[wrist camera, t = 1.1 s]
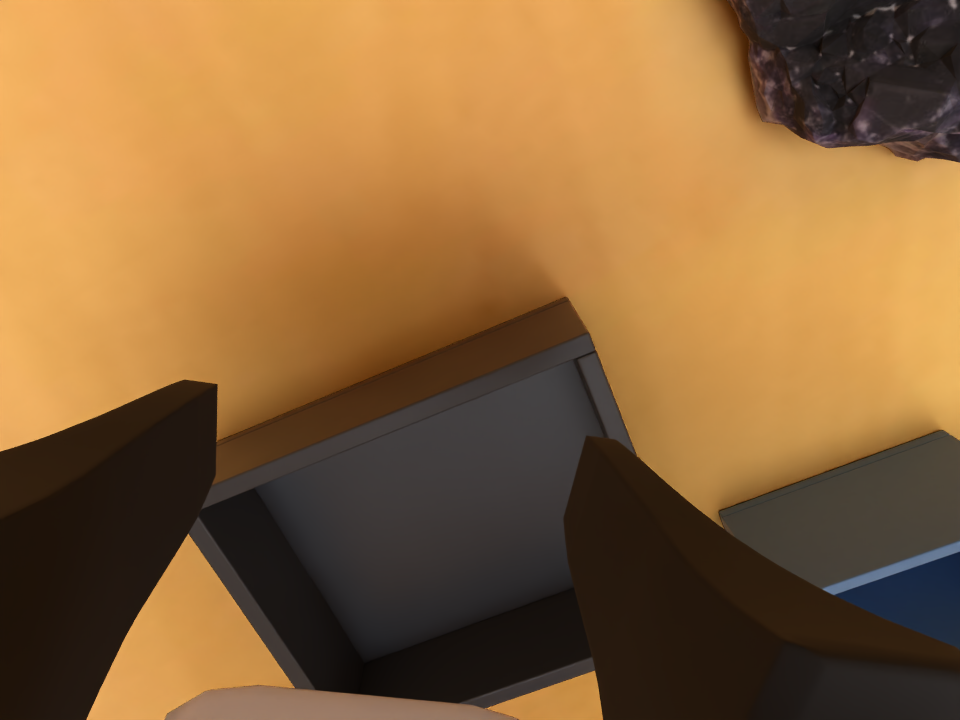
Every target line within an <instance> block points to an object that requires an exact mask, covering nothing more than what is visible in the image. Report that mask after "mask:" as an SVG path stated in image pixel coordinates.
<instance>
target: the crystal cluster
mask: <svg viewBox="0 0 960 720" xmlns="http://www.w3.org/2000/svg"><path fill="white" fill-rule="evenodd" d="M727 1H728V3H729V4H730V5H731V7H732V8H733V9H734V11H735V12H736V14H737V17H738V21H739V25H740V28H741V29H742V31H743V32H744V33H745V35H746V36H747V37H748V40H749V50H748V61H749V66H750V72H751V78H752V85H753V91H754V96H755V101H756V106H757V109H758V112H759V114H760V117H761V119H762V121H763V122H769V123H775V124H781V125H785V126H786V127H787V128H788V129H789V130H791V131H792V132H794V133H795V134H797V135H798V136H800V137H801V138H803V139H806V140H808V141H811V142H813V143H816V144H818V145H821V146H823V147H825V148H836V147H849V146H871V145H877V144H879V145H882V146H884V147H887V148H889V149H890V150H891V151H892V152H893V153H894V155H895V156H897V157H902V158H906V159H910V160H914V161H919V160H921V159H924V158H937V159H945V160H950V161H955V162H960V0H727Z"/></svg>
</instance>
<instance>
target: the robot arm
mask: <svg viewBox="0 0 960 720" xmlns="http://www.w3.org/2000/svg"><path fill="white" fill-rule="evenodd" d="M217 386H218V384H212V383H205V382H198V381H190V380H182V381H179V382H176V383H173V384H171V385H168V386H166V387H163V388H161V389H159V390H157V391H154V392H152V393H150V394H148V395H145V396H143V397H141V398H139V399H136V400H134V401H132V402H130V403H127V404H125V405H123V406H121V407H118V408H116V409H114V410H111V411H109V412H107V413H105V414H102V415H100V416H98V417H95V418H93V419H90V420H88V421H85V422H83V423H80V424H77V425H75V426H72V427H70V428H67V429H65V430H62V431H60V432H57V433H55V434H52V435H50V436H47V437H44V438H41V439H38V440H36V441H33V442H30V443H27V444H24V445H21V446H18V447H14V448H11V449H8V450H4V451H1V452H0V720H86V719H87V717H88V714H89V712H90V710H91V708H92V706H93V703H94V701H95V699H96V697H97V695H98V692H99V690H100V688H101V686H102V684H103V682H104V680H105V678H106V676H107V674H108V672H109V669H110V667H111V665H112V663H113V661H114V659H115V657H116V655H117V653H118V651H119V649H120V647H121V645H122V642H123V640H124V638H125V636H126V635H127V633H128V631H129V629H130V628H131V626H132V624H133V622H134V620H135V619H136V617H137V615H138V613H139V612H140V610H141V609H142V607H143V605H144V604H145V602H146V601H147V599H148V597H149V596H150V594H151V593H152V591H153V589H154V588H155V586H156V585H157V583H158V581H159V580H160V578H161V576H162V575H163V573H164V572H165V570H166V568H167V567H168V565H169V564H170V562H171V560H172V559H173V557H174V556H175V554H176V552H177V551H178V549H179V548H180V546H181V544H182V543H183V541H184V539H185V538H186V536H187V534H188V533H189V531H190V530H191V528H192V526H193V525H194V523H195V521H196V520H197V518H198V515H199V513H200V511H201V509H202V507H203V504H204V502H205V500H206V498H207V495H208V493H209V490H210V488H211V486H212V483H213V481H214V478H215V476H216V441H217ZM563 522H564V533H565V543H566V551H567V559H568V565H569V569H570V573H571V577H572V581H573V585H574V589H575V593H576V597H577V601H578V605H579V609H580V612H581V616H582V620H583V624H584V628H585V632H586V635H587V639H588V643H589V647H590V651H591V655H592V658H593V663H594V667H595V672H596V677H597V681H598V687H599V694H600V700H601V707H602V714H603V720H960V650H959V649H958V648H956V647H955V646H952V645H950V644H947V643H945V642H942V641H939V640H937V639H934V638H932V637H929V636H927V635H924V634H922V633H919V632H917V631H914V630H912V629H909V628H906V627H904V626H901V625H899V624H896V623H894V622H891V621H889V620H886V619H884V618H882V617H879V616H877V615H875V614H873V613H871V612H868V611H866V610H864V609H862V608H860V607H858V606H856V605H853V604H851V603H849V602H847V601H845V600H843V599H840V598H839V597H837V596H835V595H833V594H831V593H829V592H827V591H825V590H823V589H821V588H819V587H817V586H815V585H813V584H811V583H809V582H808V581H806V580H804V579H802V578H800V577H799V576H797V575H795V574H793V573H792V572H790V571H788V570H786V569H784V568H783V567H781V566H779V565H777V564H776V563H774V562H773V561H771V560H769V559H768V558H766V557H764V556H763V555H761V554H760V553H758V552H757V551H755V550H754V549H752V548H751V547H749V546H748V545H746V544H745V543H743V542H742V541H740V540H739V539H737V538H736V537H734V536H733V535H731V534H730V533H728V532H727V531H726V530H724V529H723V528H721V527H720V526H719V525H717V524H716V523H715V522H714V521H712V520H711V519H710V518H708V517H707V516H706V515H705V514H703V513H702V512H701V511H699V510H698V509H697V508H696V507H694V506H693V505H692V504H691V503H690V502H688V501H687V500H686V499H685V498H684V497H682V496H681V495H680V494H679V493H678V492H676V491H675V490H674V489H673V488H672V487H671V486H670V485H668V484H667V483H666V482H665V481H664V480H663V479H662V478H660V477H659V476H658V475H657V474H656V473H655V472H654V471H653V470H651V469H650V468H649V467H648V466H647V465H646V464H645V463H644V462H643V461H641V460H640V459H639V458H638V457H637V456H636V455H635V454H633V453H632V452H631V451H630V450H629V449H628V448H626V447H625V446H624V445H623V444H621V443H620V442H619V441H617V440H616V439H609V438H602V437H595V436H587V435H586V438H585V441H584V445H583V449H582V452H581V456H580V459H579V463H578V467H577V470H576V474H575V478H574V481H573V485H572V488H571V492H570V496H569V499H568V503H567V506H566V510H565V514H564V517H563ZM165 720H518V719H516V718H514V717H511V716H508V715H505V714H501V713H498V712H494V711H491V710H488V709H484V708H481V707H478V706H474V705H467V704H456V703H446V702H435V701H424V700H413V699H403V698H392V697H381V696H371V695H360V694H349V693H339V692H328V691H317V690H307V689H296V688H285V687H275V686H264V685H254V686H244V687H233V688H222V689H212V690H208V691H205V692H203V693H201V694H200V695H198V696H196V697H195V698H193V699H191V700H189V701H188V702H186V703H184V704H183V705H181V706H179V707H178V708H176V709H174V710H172V711H171V712H169V713H167V715H166V718H165Z"/></svg>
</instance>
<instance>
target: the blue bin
mask: <svg viewBox="0 0 960 720" xmlns="http://www.w3.org/2000/svg"><path fill="white" fill-rule="evenodd" d="M719 515H720V518H721V521H722V523H723V526H724V529H725V530H726V531H727V532H728V533H730V534H731V535H733V536H734V537H736V538H737V539H739V540H740V541H742V542H743V543H745V544H746V545H748V546H749V547H751V548H752V549H754V550H755V551H757V552H758V553H760V554H761V555H763V556H764V557H766V558H768V559H769V560H771V561H773V562H774V563H776V564H777V565H779V566H781V567H783V568H784V569H786V570H788V571H790V572H792V573H793V574H795V575H797V576H799V577H800V578H802V579H804V580H806V581H808V582H809V583H811V584H813V585H815V586H817V587H819V588H821V589H823V590H825V591H827V592H829V593H831V594H833V595H835V596H837V597H839V598H840V599H843V600H845V601H847V602H849V603H851V604H853V605H856V606H858V607H860V608H862V609H864V610H866V611H868V612H871V613H873V614H875V615H877V616H879V617H882V618H884V619H886V620H889V621H891V622H894V623H896V624H899V625H901V626H904V627H906V628H909V629H912V630H914V631H917V632H919V633H922V634H924V635H927V636H929V637H932V638H934V639H937V640H939V641H942V642H945V643H947V644H950V645H952V646H955V647H956V648H958V649H959V650H960V441H959V440H958V439H956V438H955V437H953V436H951V435H949V434H948V433H947V432H945V431H943V430H941V431H938V432H935V433H932V434H930V435H927V436H924V437H922V438H919V439H916V440H913V441H911V442H908V443H905V444H902V445H900V446H897V447H894V448H891V449H889V450H886V451H883V452H880V453H878V454H875V455H872V456H870V457H867V458H864V459H861V460H859V461H856V462H853V463H850V464H848V465H845V466H842V467H839V468H837V469H834V470H831V471H828V472H826V473H823V474H820V475H818V476H815V477H812V478H809V479H807V480H804V481H801V482H798V483H796V484H793V485H790V486H787V487H785V488H782V489H779V490H776V491H774V492H771V493H768V494H766V495H763V496H760V497H757V498H755V499H752V500H749V501H746V502H744V503H741V504H738V505H735V506H733V507H730V508H727V509H724V510H722V511H719Z"/></svg>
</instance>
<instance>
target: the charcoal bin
mask: <svg viewBox="0 0 960 720" xmlns="http://www.w3.org/2000/svg"><path fill="white" fill-rule="evenodd" d="M586 435H587V436H595V437H602V438H609V439H616V440H617V441H619V442H620V443H621V444H623V445H624V446H625V447H626V448H628V449H629V450H630V451H631V452H632V453H633V454H635V455H636V452H635V450H634V447H633V445H632V442H631V439H630V437H629V434H628V432H627V429H626V427H625V424H624V421H623V419H622V416H621V414H620V411H619V408H618V406H617V403H616V401H615V398H614V396H613V393H612V390H611V388H610V385H609V383H608V380H607V377H606V375H605V372H604V370H603V367H602V364H601V362H600V359H599V357H598V354H597V352H596V350H595V346H594V344H593V341H592V339H591V336H590V333H589V332H588V330H587V329H586V327H585V325H584V324H583V322H582V320H581V319H580V317H579V315H578V314H577V312H576V311H575V309H574V307H573V306H572V304H571V302H570V301H569V299H568V298H567V297H564V298H562V299H560V300H557V301H555V302H552V303H550V304H548V305H545V306H543V307H540V308H538V309H536V310H533V311H531V312H528V313H526V314H524V315H521V316H519V317H516V318H514V319H511V320H509V321H507V322H504V323H502V324H499V325H497V326H495V327H492V328H490V329H487V330H485V331H483V332H480V333H478V334H475V335H473V336H471V337H468V338H466V339H463V340H461V341H458V342H456V343H454V344H451V345H449V346H446V347H444V348H442V349H439V350H437V351H434V352H432V353H430V354H427V355H425V356H422V357H420V358H418V359H415V360H413V361H410V362H408V363H405V364H403V365H401V366H398V367H396V368H393V369H391V370H389V371H386V372H384V373H381V374H379V375H377V376H374V377H372V378H369V379H367V380H364V381H362V382H360V383H357V384H355V385H352V386H350V387H348V388H345V389H343V390H340V391H338V392H336V393H333V394H331V395H328V396H326V397H324V398H321V399H319V400H316V401H314V402H311V403H309V404H307V405H304V406H302V407H299V408H297V409H295V410H292V411H290V412H287V413H285V414H283V415H280V416H278V417H275V418H273V419H271V420H268V421H266V422H263V423H261V424H258V425H256V426H254V427H251V428H249V429H246V430H244V431H242V432H239V433H237V434H234V435H232V436H230V437H227V438H225V439H222V440H220V441H218V442H216V476H215V478H214V481H213V483H212V486H211V488H210V490H209V493H208V495H207V498H206V500H205V502H204V504H203V507H202V509H201V511H200V513H199V515H198V518H197V520H196V521H195V523H194V525H193V526H192V528H191V530H190V531H189V535H190V536H191V538H192V539H193V541H194V542H195V544H196V545H197V546H198V548H199V549H200V551H201V552H202V554H203V555H204V557H205V558H206V559H207V561H208V562H209V564H210V565H211V567H212V568H213V570H214V571H215V573H216V574H217V575H218V577H219V578H220V580H221V581H222V583H223V584H224V586H225V587H226V589H227V590H228V591H229V593H230V594H231V596H232V597H233V599H234V600H235V602H236V603H237V605H238V606H239V607H240V609H241V610H242V612H243V613H244V615H245V616H246V618H247V619H248V620H249V622H250V623H251V625H252V626H253V628H254V629H255V631H256V632H257V634H258V635H259V636H260V638H261V639H262V641H263V642H264V644H265V645H266V647H267V648H268V650H269V651H270V652H271V654H272V655H273V657H274V658H275V660H276V661H277V663H278V664H279V666H280V667H281V668H282V670H283V671H284V673H285V674H286V676H287V677H288V679H289V680H290V681H291V683H292V684H293V686H294V687H295V688H296V689H307V690H317V691H328V692H339V693H349V694H360V695H371V696H381V697H392V698H403V699H413V700H424V701H435V702H446V703H456V704H467V705H474V706H478V707H481V708H487V707H490V706H493V705H496V704H499V703H502V702H505V701H508V700H511V699H513V698H516V697H519V696H522V695H525V694H528V693H531V692H534V691H537V690H540V689H542V688H545V687H548V686H551V685H554V684H557V683H560V682H563V681H566V680H569V679H572V678H574V677H577V676H580V675H583V674H586V673H589V672H592V671H595V667H594V663H593V658H592V655H591V651H590V647H589V643H588V639H587V635H586V632H585V628H584V624H583V620H582V616H581V612H580V609H579V605H578V601H577V597H576V593H575V589H574V585H573V581H572V577H571V573H570V569H569V565H568V559H567V551H566V543H565V533H564V522H563V517H564V514H565V510H566V506H567V503H568V499H569V496H570V492H571V488H572V485H573V481H574V478H575V474H576V470H577V467H578V463H579V459H580V456H581V452H582V449H583V445H584V441H585V438H586ZM636 456H637V455H636Z"/></svg>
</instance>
